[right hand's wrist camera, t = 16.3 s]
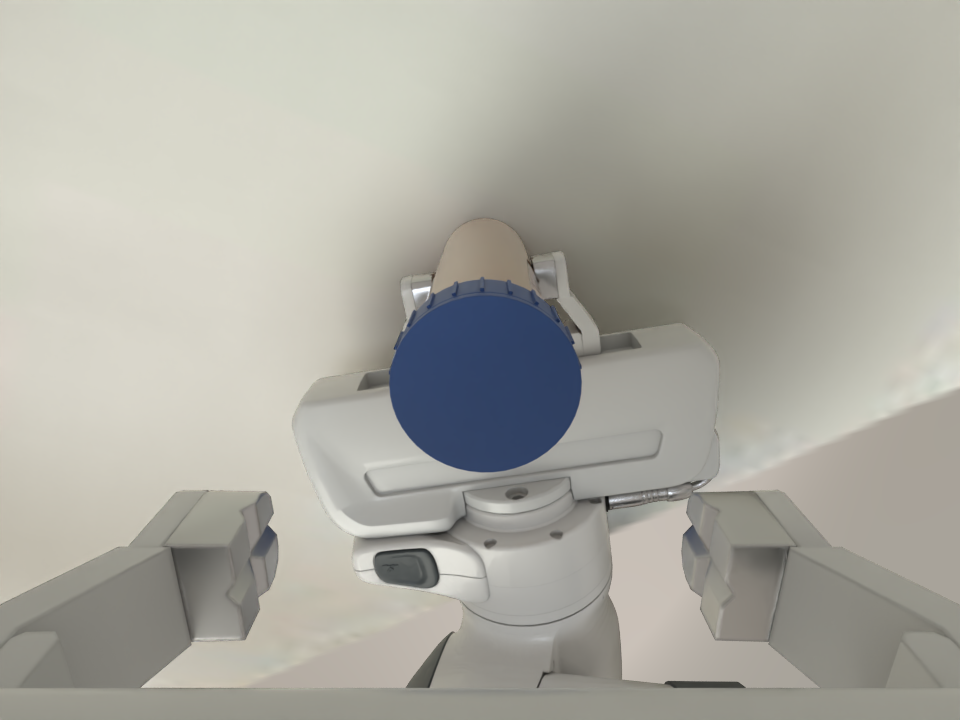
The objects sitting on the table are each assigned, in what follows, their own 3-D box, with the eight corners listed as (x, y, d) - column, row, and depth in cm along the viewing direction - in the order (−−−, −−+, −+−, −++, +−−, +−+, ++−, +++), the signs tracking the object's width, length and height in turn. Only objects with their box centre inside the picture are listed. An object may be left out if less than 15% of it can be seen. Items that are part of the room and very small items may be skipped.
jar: (474, 316, 34) (465, 483, 17) (426, 250, 32) (367, 363, 16) (542, 271, 33) (600, 402, 16) (495, 200, 31) (508, 267, 15)
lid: (464, 471, 19) (462, 506, 17) (359, 342, 17) (346, 365, 16) (607, 385, 18) (621, 412, 16) (509, 239, 16) (512, 251, 15)
